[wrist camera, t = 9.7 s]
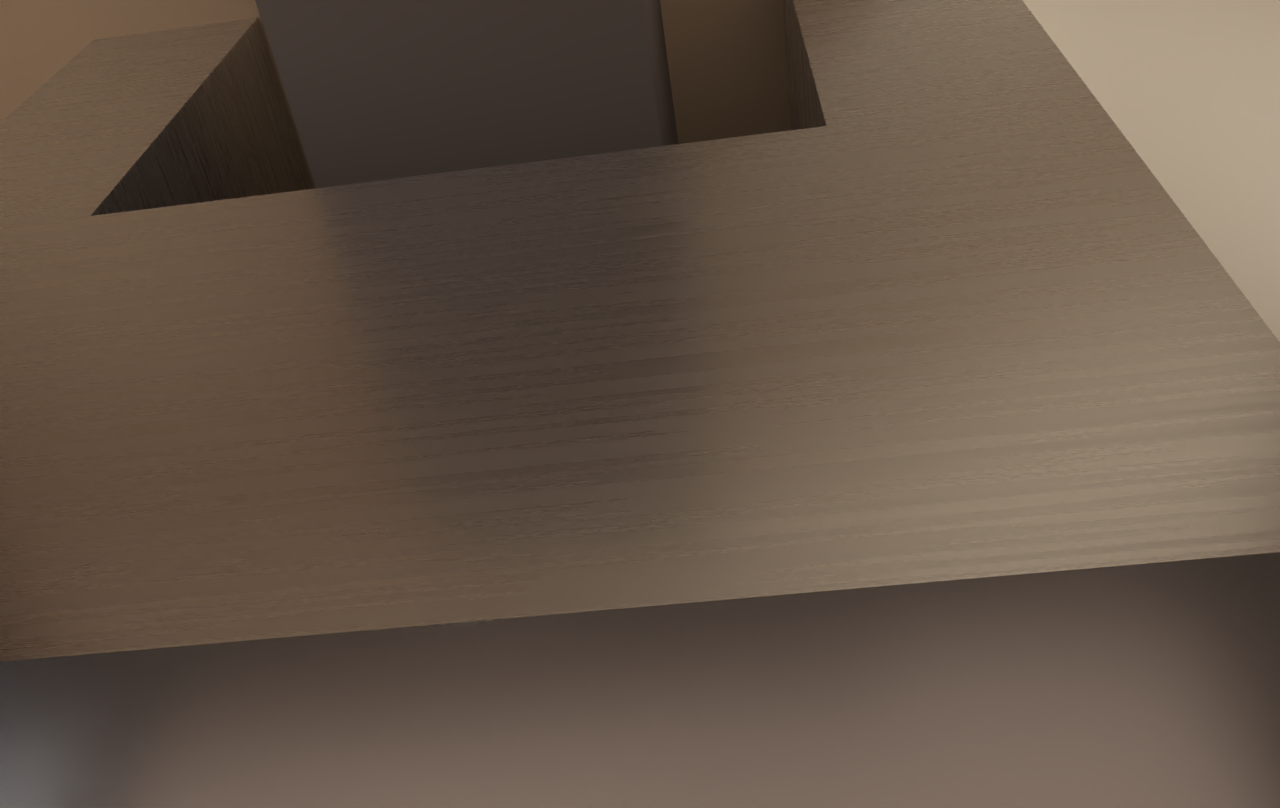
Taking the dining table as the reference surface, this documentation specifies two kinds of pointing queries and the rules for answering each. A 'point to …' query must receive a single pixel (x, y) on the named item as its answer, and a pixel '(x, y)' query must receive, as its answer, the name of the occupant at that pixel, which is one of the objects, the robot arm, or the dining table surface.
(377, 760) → the saddle block
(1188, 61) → the rail board
